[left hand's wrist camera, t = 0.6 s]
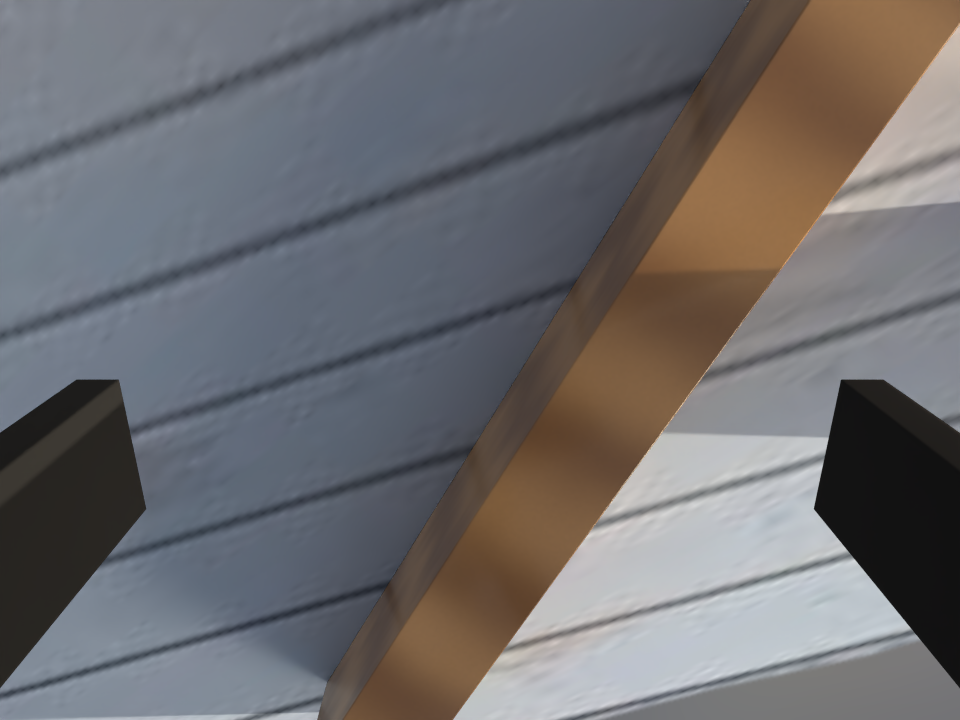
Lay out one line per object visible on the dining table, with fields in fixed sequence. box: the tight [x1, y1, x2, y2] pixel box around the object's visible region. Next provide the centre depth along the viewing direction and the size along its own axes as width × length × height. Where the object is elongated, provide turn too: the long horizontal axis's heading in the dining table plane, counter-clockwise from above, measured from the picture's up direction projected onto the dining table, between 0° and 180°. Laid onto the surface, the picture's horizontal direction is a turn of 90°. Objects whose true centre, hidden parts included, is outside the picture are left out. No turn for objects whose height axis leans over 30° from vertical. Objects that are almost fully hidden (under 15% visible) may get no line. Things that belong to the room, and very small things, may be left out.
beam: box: [317, 0, 960, 720], centre depth 34 cm, size 73×6×8 cm, turn 151°
